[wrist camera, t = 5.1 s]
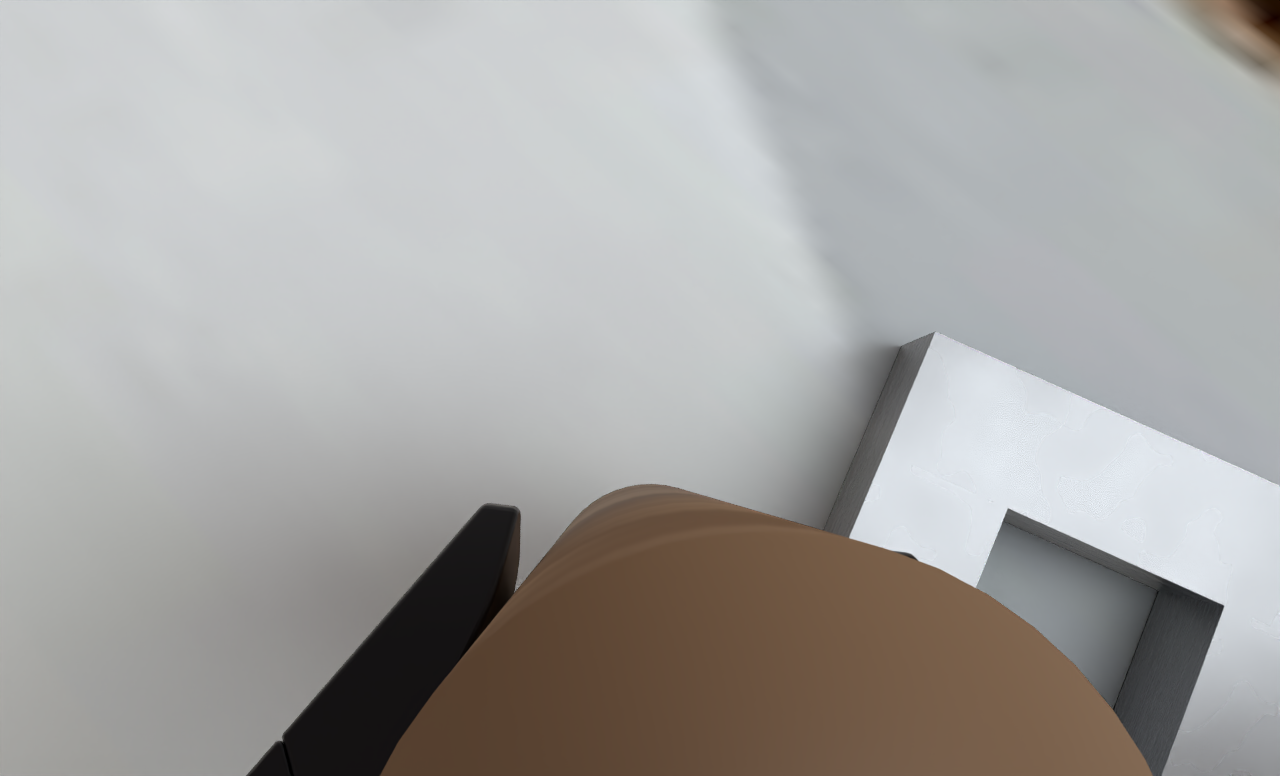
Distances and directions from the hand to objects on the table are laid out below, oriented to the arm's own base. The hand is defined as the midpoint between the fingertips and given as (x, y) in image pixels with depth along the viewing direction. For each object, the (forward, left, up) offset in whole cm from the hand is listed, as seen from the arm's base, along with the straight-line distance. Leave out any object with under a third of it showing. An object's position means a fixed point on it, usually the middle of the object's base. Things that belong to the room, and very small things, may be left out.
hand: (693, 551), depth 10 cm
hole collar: (+2, -10, -13) cm, 17 cm away
